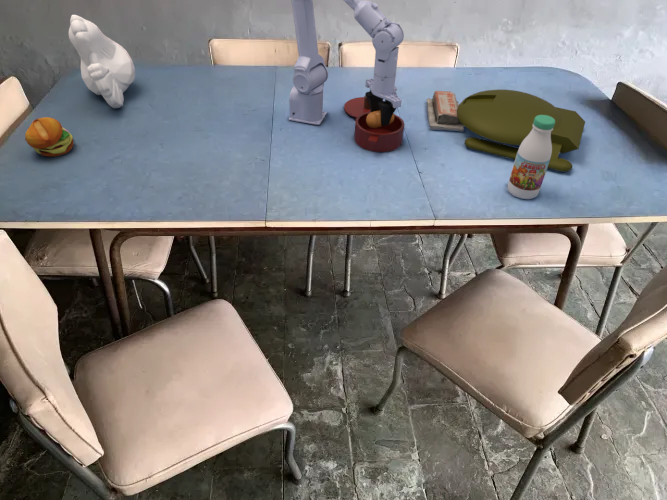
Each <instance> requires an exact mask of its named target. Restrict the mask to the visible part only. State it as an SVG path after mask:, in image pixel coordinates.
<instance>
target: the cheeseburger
mask: <svg viewBox="0 0 667 500" xmlns="http://www.w3.org/2000/svg"><path fill="white" fill-rule="evenodd" d="M73 138H74V136H73V134H71V133H70V131H69V130H68V129H66V128H64V127H63V126H62V123H61V122H60V121H59V120H57V119H55V118H53V117H48V116H47V117H46V116H45V117H39V118H36V119H34V120H32V122H31V124H30V125H29V127H28V128H27V130H25V134H24V140H25V141H26V144H27V145H28V146H30V148H32V149H33V150H34V151H35V152H36V153H37V154H40V155H41V156H43V157H60V156H62V155H66V154H68V153H69V152H70V151H71V150H72V149H73V147H74V139H73Z"/></svg>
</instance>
